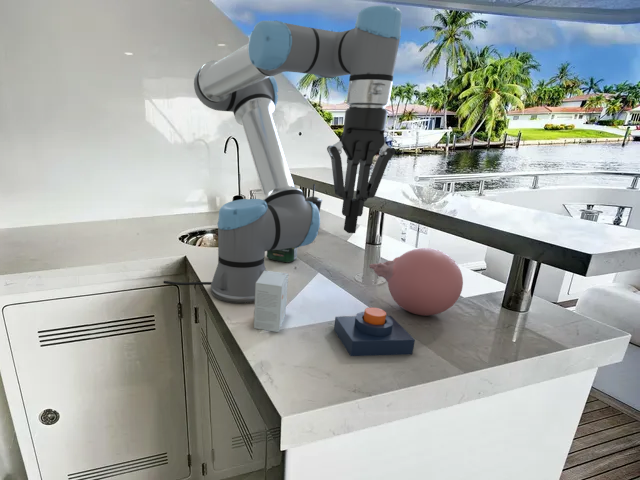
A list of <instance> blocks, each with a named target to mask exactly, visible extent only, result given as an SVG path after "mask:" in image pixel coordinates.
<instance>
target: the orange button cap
mask: <svg viewBox="0 0 640 480" xmlns="http://www.w3.org/2000/svg"><path fill="white" fill-rule="evenodd" d="M363 312H364V319H363V320H364V321H365V322H367V323H369V324H374V325H383V324H385V319H386V316H387V312H386V311H385V310H384V309H382V308H379V307H373V306H372V307H366V308H365V309H364V311H363Z"/></svg>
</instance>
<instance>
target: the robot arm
mask: <svg viewBox="0 0 640 480" xmlns="http://www.w3.org/2000/svg"><path fill="white" fill-rule="evenodd" d="M402 21H403V13H402V10H401V9H400V8H398V7H396V6H392V5H373V6H368V7H365V8H362V9H361V10H360V11H359V12H358V14H357V16H356V21H355V23H354V28H351V29H347V30H344V31H334V30H328V29H327V30H326V29H321V28H314V27H311V26H310V27H308V26H304V25H298V24H293V23H287V22H283V21H280V20H260V21H259V22H257V23H256V24H255V25H254V27H253V30H252V31H251V32H250V35H249V40H248V42H247V43H246V44H244V45H242V46H241V47H239V48H237V49H236V50H234V51H232V52H231V53H229V54H228V55H226V56H224V57H222V58H221V59H219V60H210V61H208V62H206V63H204V64H203V65H202V66H201V67H199V68H198V70H197V71H196V73H195V74H194V75H195V76H194V79H193V88H194V93H195V94H196V97H197V98H198V100H199V101H200V102H201V103H202V104H203V105H204V106H206V107H207V108H209V109H211V110H213V111H219V112H230V113H231V112H232V113H233V115H234V119H235V122H236V123H237V124H239V125H240V126H242V128H243V131H244V134H245V138H246V141H247V144H248V149H249V151H250V155H251V158H252V161H253V165H254V169H255V172H256V176H257V179H258V182H259V186H260V189H261V192H262V195H263V198H262V199H261V198H241V199H236V200H231V201H227V202H226V203H224V204H223V205H221V207H220V208H219V211H218V220H217V266H216V267H215V268H216V269H215V272H214V274H213V278H212V280H211V281H191V282H190V281H189V282H184V281H183V282H179V281H172V280H171V281H170V280H163V282H162V283H163V284H168V285H175V286H210V293H211V295H212V296H213V297H214V298H216V299H217V300H220V301H222V302H226V303H231V304H241V305H242V304H253V303H254V304H255V283H256V282H257V280H258V279H259V277H260V276H261V274H262V273H263V271H264V270H265V271H267V269H266V266H265V255H266V252H267V251H270V250H278V249H286V248H297V249H298V248H300V247H304V246H305V247H306V246H309V245H311V244H312V243H313V242H314V241H315V240H316V239H317V237H318V234H319V230H320V227H321V215H320V212H319V210H318V208H317V206H316V205H315V204H313V203H312V202H310V201H305V198H306V197H305V195H304V193H303V190H302V189H300V188H297V187H295V184H294V180H293V177H292V174H291V170H290V168H289V164H288V161H287V159H286V155H285V151H284V149H283V146H282V143H281V140H280V137H279V133H278V130H277V127H276V124H275V121H274V117H273V115H274V112H275V109H276V106H277V104H278V101H279V94H278V92H279V87H278V83H277V80H276V77H275V76H276V75H279V74H281V73H286V72H290V73H299V74H308V75H314V76H315V77H316V78H319V79H323V78H324V79H333V78H336V77H342V76H349V80H348V89H347V96H346V103H345V104H346V105H347V106H348V108H346V109H345V112H344V120H343V130H342V134H341V135H340V137H339V141H337V142H336V143H335V144H333V145H328V146H326V151H327V153H328V156H329V157H330V160H331V171H332V178H333V179H332V181H333V188H334V194H335V195H336V196H338V197H339V198H341V199H342V200H343V201H342V206H341V208H342V209H341V214H342V215H343V216H344V224H343V225H344V226H343V230H344V231H345V232H346V233H348V234H356V232H357V225H358V218H359V217H362V216H363V212H364V205H365V202H367V201H368V199H374V198H375V196H376V194H377V191H378V189H379V187H380V184H381V181H382V179H383V176H384V174H385V171H386V169H387V166H388V163H389V162H390V160H391V159H392V158H393V156H394V155H395V153H396V149H395V148H394V147H391V146H389V145H388V144H387V143H386V137H385V130H386V127H387V121H388V113H389V111H388V109H386V107H388V106H389V105H390V101H391V95H392V88H393V81H394V75H395V70H396V69H395V68H396V63H397V56H398V51H399V46H400V40H401V38H402V35H401V33H402ZM342 150H343V151H344V153H345V156H346V171H345V179H344V172H343V163H342V156H341V155H342V152H343V151H342ZM377 153H378V154H379V155H378V157H377V159H376V161H375V164H374V167H373V168H372V171H371V167H372V165H373V161H374V157H375V156H376V155H377ZM357 173H358V176H357ZM370 173H371V174H370ZM356 181H357V182H356ZM355 187H356V190H355ZM354 193H355V194H354ZM354 195H355V198H354Z"/></svg>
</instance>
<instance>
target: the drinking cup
mask: <svg viewBox="0 0 640 480" xmlns="http://www.w3.org/2000/svg"><path fill="white" fill-rule="evenodd" d="M315 191H316V184H315V183H313V184H312V193H311V194H312V195H311V196H307V197H304V198H305V201H310V202H312V203H313V204H315V205H316V206H317V208H318V210H319V213H320V211H321V206H322V202H323V199H322V198H320V197H317V196H315Z"/></svg>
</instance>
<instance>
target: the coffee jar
mask: <svg viewBox="0 0 640 480" xmlns="http://www.w3.org/2000/svg"><path fill="white" fill-rule="evenodd" d="M266 258H268V259H269V260H272V261H277V262H283V263H290V262H294V261H296V259H297V258H298V248H286V249H278V250H270V251H266Z"/></svg>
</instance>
